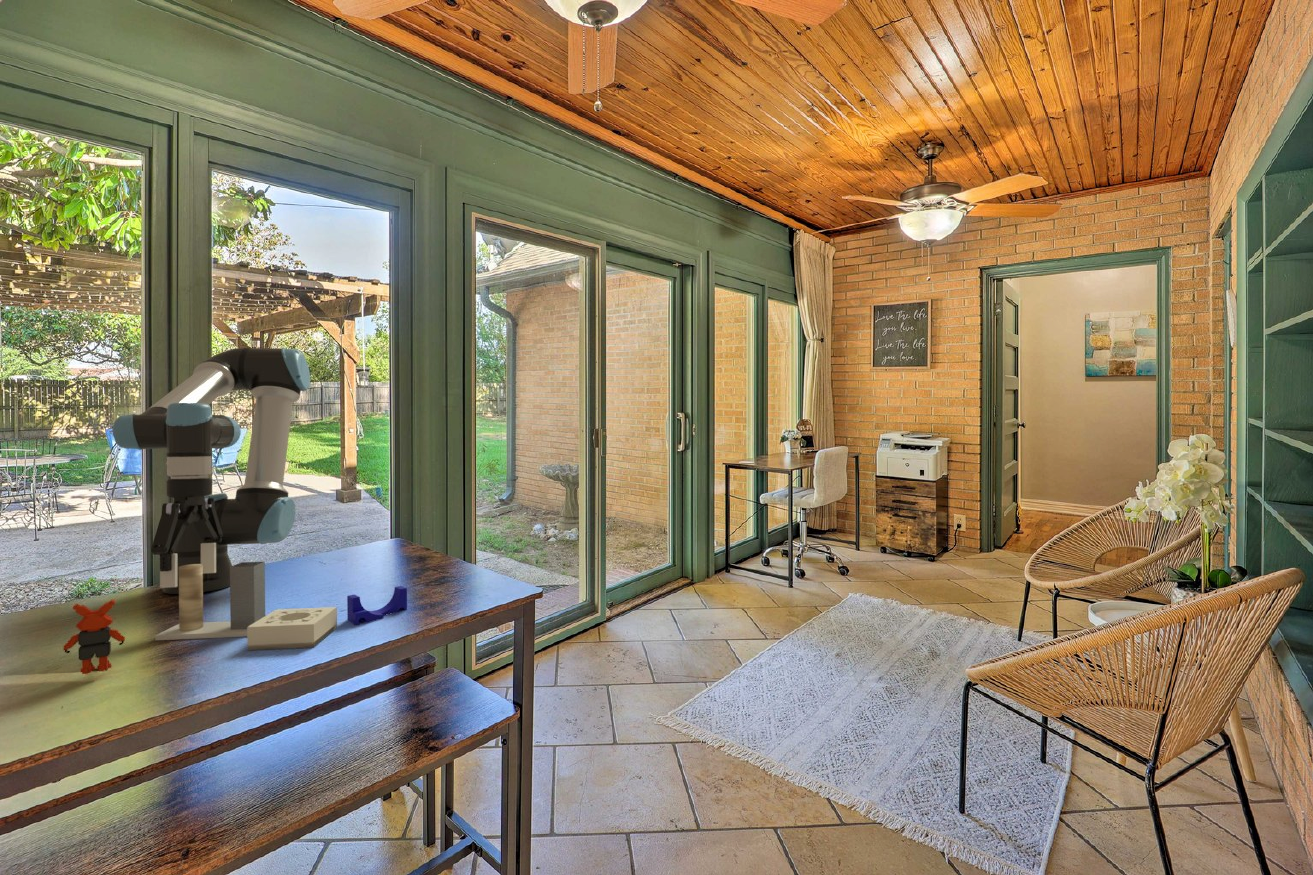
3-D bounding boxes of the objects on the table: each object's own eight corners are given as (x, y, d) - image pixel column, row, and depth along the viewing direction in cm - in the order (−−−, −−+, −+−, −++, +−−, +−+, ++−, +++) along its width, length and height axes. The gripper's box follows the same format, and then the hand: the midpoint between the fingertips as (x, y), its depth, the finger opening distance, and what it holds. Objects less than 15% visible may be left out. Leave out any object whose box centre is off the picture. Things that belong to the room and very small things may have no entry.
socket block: (276, 630, 132) (276, 609, 132) (337, 628, 134) (336, 606, 134) (247, 650, 120) (247, 626, 120) (314, 647, 122) (313, 624, 122)
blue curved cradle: (355, 627, 135) (355, 599, 135) (347, 623, 138) (347, 595, 138) (410, 615, 144) (409, 589, 143) (401, 611, 147) (401, 585, 147)
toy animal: (127, 659, 116) (126, 594, 116) (124, 668, 111) (123, 600, 111) (68, 668, 111) (67, 601, 111) (62, 678, 107) (61, 608, 107)
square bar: (242, 622, 134) (241, 562, 134) (265, 621, 135) (264, 561, 135) (230, 629, 130) (229, 566, 130) (254, 628, 130) (253, 566, 130)
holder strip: (179, 628, 134) (179, 623, 134) (280, 623, 137) (280, 619, 137) (155, 640, 126) (155, 635, 126) (262, 635, 129) (262, 630, 129)
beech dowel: (186, 625, 133) (186, 564, 132) (207, 624, 133) (206, 563, 133) (174, 631, 129) (174, 568, 128) (196, 630, 129) (195, 567, 129)
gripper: (204, 474, 142) (204, 568, 142) (127, 481, 118) (127, 594, 117) (240, 474, 143) (240, 567, 143) (171, 480, 119) (171, 593, 118)
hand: (189, 579), depth 130 cm, fingers open, 13 cm apart
